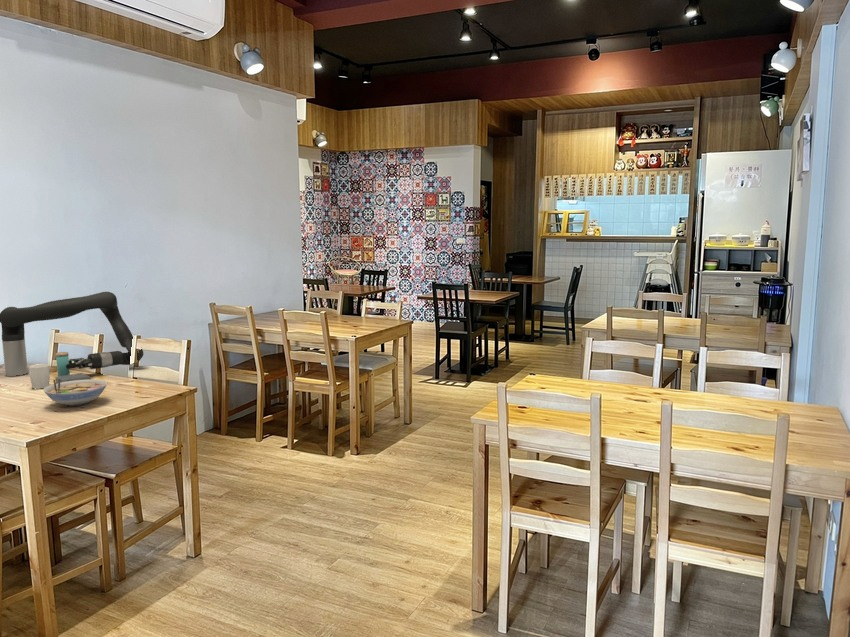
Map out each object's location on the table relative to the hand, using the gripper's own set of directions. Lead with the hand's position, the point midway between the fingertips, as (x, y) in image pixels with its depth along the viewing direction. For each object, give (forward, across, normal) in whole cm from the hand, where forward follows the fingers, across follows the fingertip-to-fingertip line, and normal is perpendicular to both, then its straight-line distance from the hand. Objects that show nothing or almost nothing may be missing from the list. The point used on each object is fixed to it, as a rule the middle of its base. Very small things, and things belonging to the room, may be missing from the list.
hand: (63, 365), depth 292 cm
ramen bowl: (+10, +49, +7) cm, 51 cm away
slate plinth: (0, +12, +7) cm, 14 cm away
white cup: (+12, +8, +7) cm, 16 cm away
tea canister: (0, 0, +7) cm, 7 cm away
